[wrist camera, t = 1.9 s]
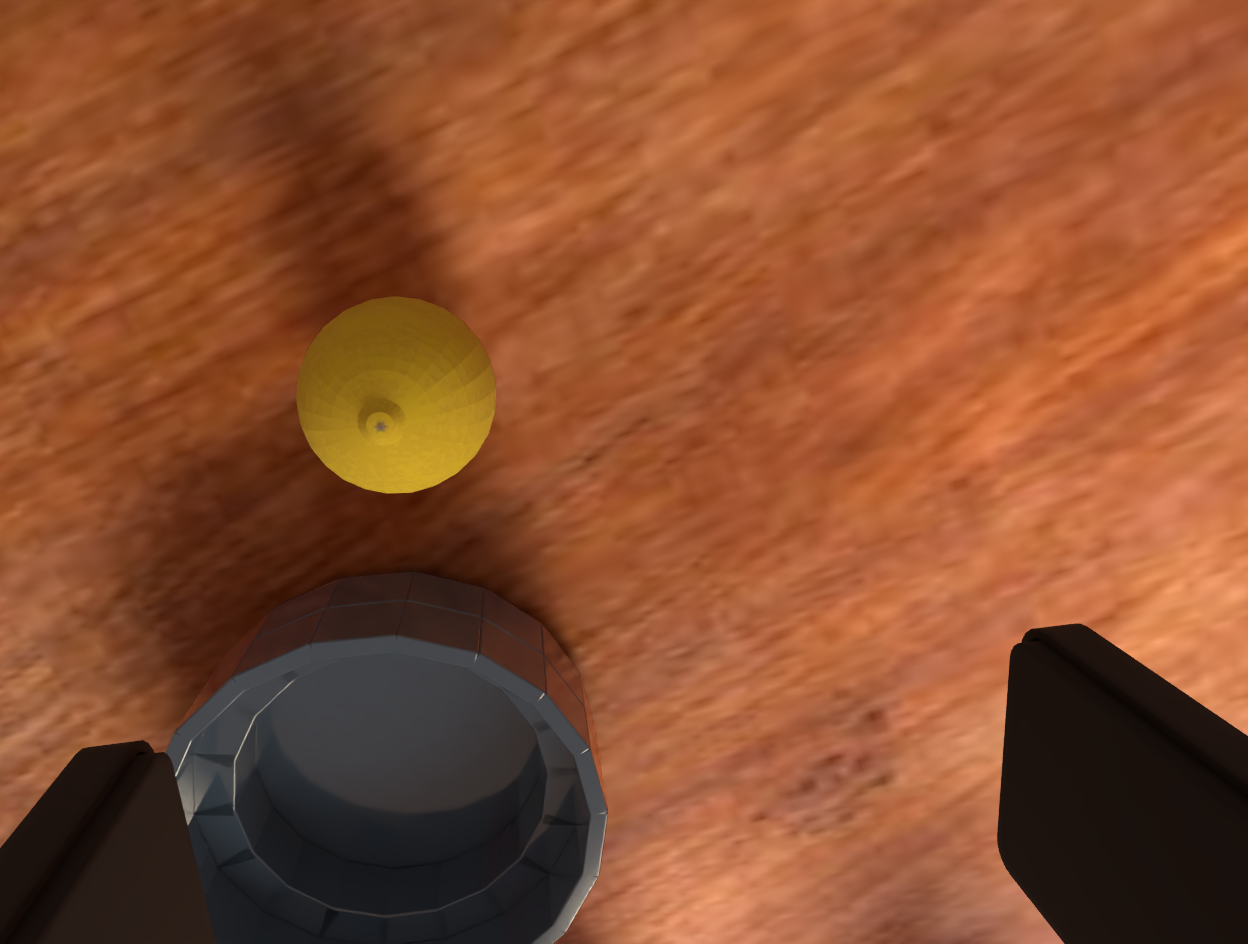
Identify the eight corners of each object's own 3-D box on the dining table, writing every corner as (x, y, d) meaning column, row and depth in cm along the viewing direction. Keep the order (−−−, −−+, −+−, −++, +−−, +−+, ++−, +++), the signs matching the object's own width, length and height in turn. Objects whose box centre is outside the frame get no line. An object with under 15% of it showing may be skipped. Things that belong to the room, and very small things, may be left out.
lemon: (344, 457, 29) (284, 542, 22) (316, 293, 28) (242, 321, 20) (507, 442, 30) (504, 519, 22) (489, 279, 28) (480, 303, 21)
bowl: (168, 585, 30) (95, 663, 25) (582, 549, 31) (596, 615, 26) (239, 916, 34) (189, 1043, 29) (603, 870, 36) (618, 983, 30)
